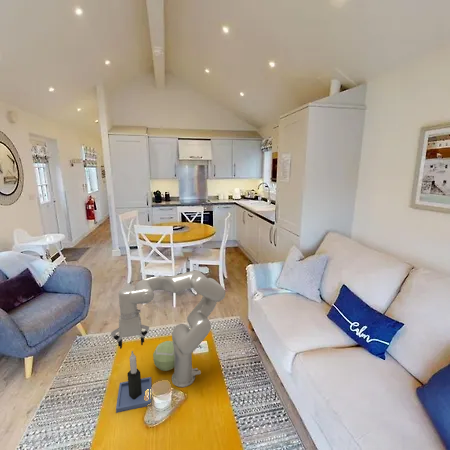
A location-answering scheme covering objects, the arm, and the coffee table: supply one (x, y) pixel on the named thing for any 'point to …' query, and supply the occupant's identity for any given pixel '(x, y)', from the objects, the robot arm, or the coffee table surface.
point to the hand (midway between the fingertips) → (131, 345)
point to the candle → (134, 378)
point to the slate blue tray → (127, 402)
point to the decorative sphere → (164, 356)
